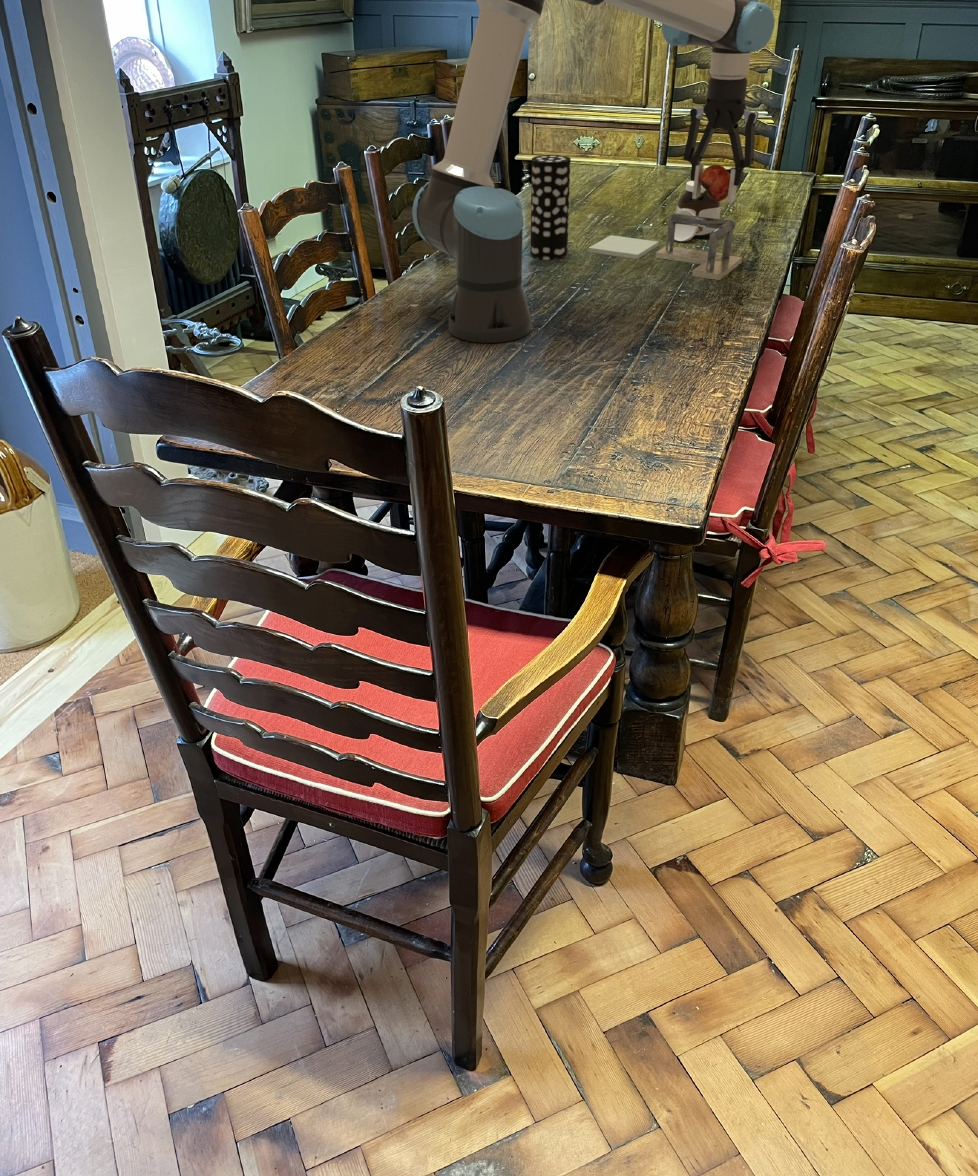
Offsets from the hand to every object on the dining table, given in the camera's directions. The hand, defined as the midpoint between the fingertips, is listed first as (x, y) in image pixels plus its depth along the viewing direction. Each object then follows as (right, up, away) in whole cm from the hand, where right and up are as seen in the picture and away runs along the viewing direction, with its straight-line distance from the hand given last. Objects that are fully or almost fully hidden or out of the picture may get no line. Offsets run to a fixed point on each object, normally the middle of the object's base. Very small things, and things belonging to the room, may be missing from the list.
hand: (713, 199), depth 197 cm
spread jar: (+1, +1, +24) cm, 24 cm away
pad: (-17, -5, +16) cm, 24 cm away
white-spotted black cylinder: (-34, -7, +13) cm, 37 cm away
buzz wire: (-4, -12, +5) cm, 14 cm away
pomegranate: (0, 0, 0) cm, 1 cm away
